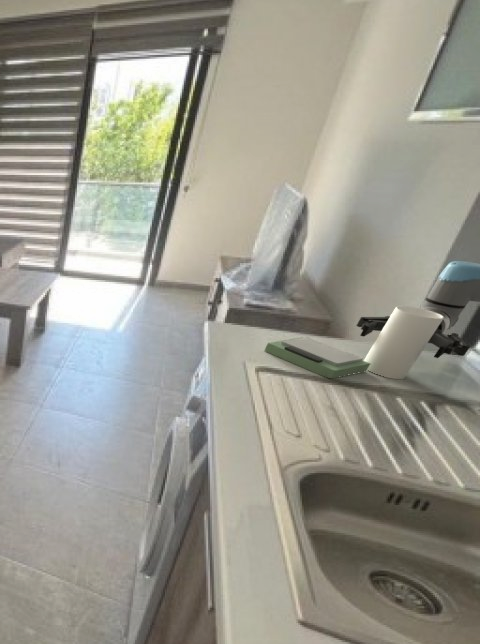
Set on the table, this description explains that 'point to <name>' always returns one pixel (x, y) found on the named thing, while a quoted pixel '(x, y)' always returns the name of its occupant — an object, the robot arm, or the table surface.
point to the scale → (317, 357)
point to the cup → (402, 341)
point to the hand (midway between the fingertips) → (400, 341)
